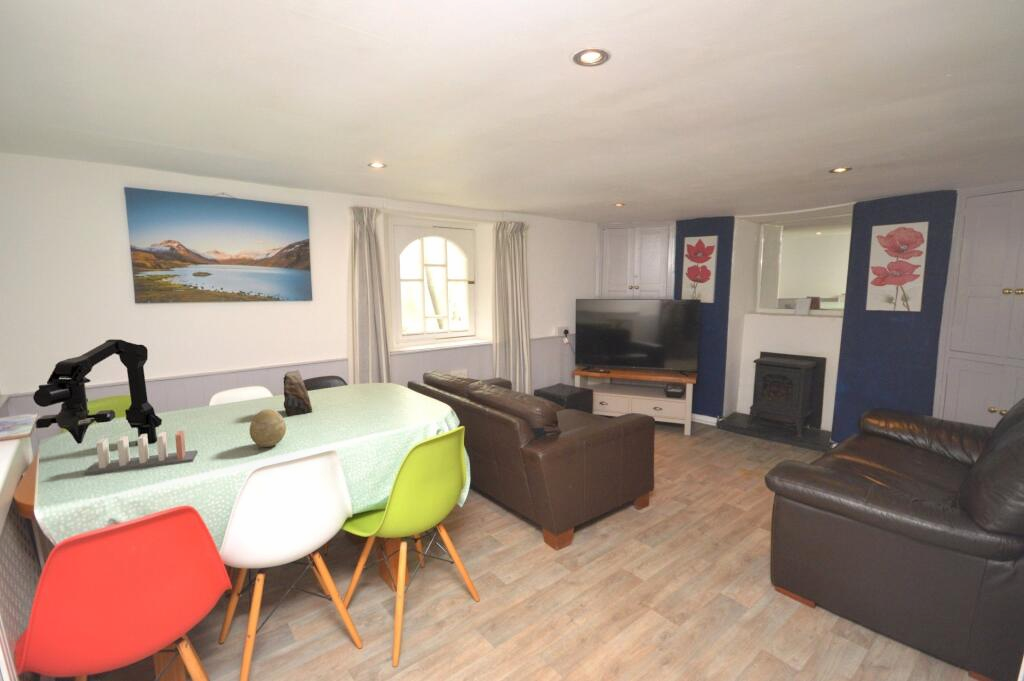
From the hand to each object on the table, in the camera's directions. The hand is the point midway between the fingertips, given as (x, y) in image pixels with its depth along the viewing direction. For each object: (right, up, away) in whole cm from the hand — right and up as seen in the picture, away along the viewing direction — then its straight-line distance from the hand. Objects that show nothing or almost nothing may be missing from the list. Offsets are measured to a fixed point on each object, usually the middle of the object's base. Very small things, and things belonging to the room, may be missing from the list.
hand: (79, 443), depth 154 cm
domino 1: (+5, -8, +4) cm, 11 cm away
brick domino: (+25, -8, +12) cm, 29 cm away
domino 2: (+10, -8, +6) cm, 14 cm away
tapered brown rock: (+40, -1, +71) cm, 82 cm away
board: (+15, -9, +8) cm, 20 cm away
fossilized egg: (+49, -7, +27) cm, 57 cm away
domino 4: (+20, -8, +11) cm, 24 cm away
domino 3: (+15, -8, +8) cm, 19 cm away
